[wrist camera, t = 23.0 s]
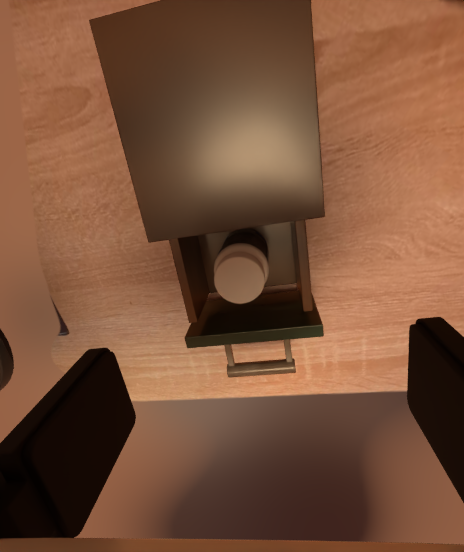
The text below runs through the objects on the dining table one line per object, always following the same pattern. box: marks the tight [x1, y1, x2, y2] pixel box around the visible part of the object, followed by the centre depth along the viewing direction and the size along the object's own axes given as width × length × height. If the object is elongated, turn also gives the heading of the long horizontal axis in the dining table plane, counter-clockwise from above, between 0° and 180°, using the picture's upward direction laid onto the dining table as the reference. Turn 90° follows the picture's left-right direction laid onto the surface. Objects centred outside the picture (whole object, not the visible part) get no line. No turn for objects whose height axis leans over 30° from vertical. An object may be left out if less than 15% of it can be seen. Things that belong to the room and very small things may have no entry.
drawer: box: [169, 220, 324, 377], centre depth 30 cm, size 19×12×8 cm, turn 10°
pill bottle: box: [214, 229, 269, 304], centre depth 28 cm, size 5×5×8 cm
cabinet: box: [89, 0, 325, 242], centre depth 25 cm, size 15×14×10 cm
